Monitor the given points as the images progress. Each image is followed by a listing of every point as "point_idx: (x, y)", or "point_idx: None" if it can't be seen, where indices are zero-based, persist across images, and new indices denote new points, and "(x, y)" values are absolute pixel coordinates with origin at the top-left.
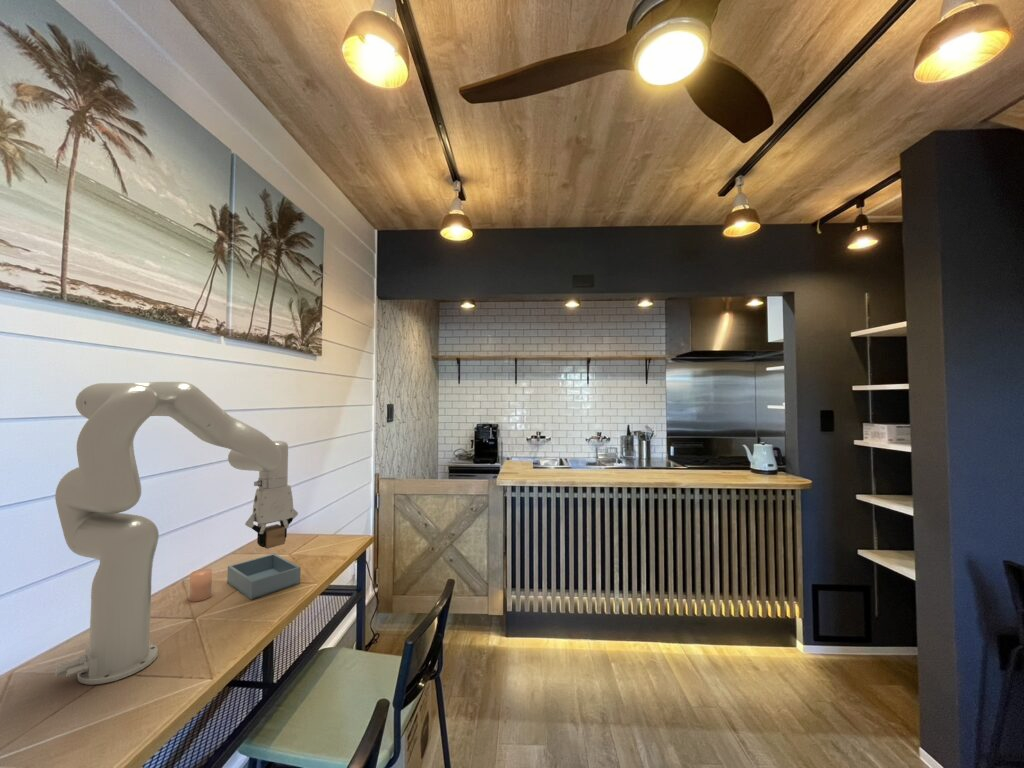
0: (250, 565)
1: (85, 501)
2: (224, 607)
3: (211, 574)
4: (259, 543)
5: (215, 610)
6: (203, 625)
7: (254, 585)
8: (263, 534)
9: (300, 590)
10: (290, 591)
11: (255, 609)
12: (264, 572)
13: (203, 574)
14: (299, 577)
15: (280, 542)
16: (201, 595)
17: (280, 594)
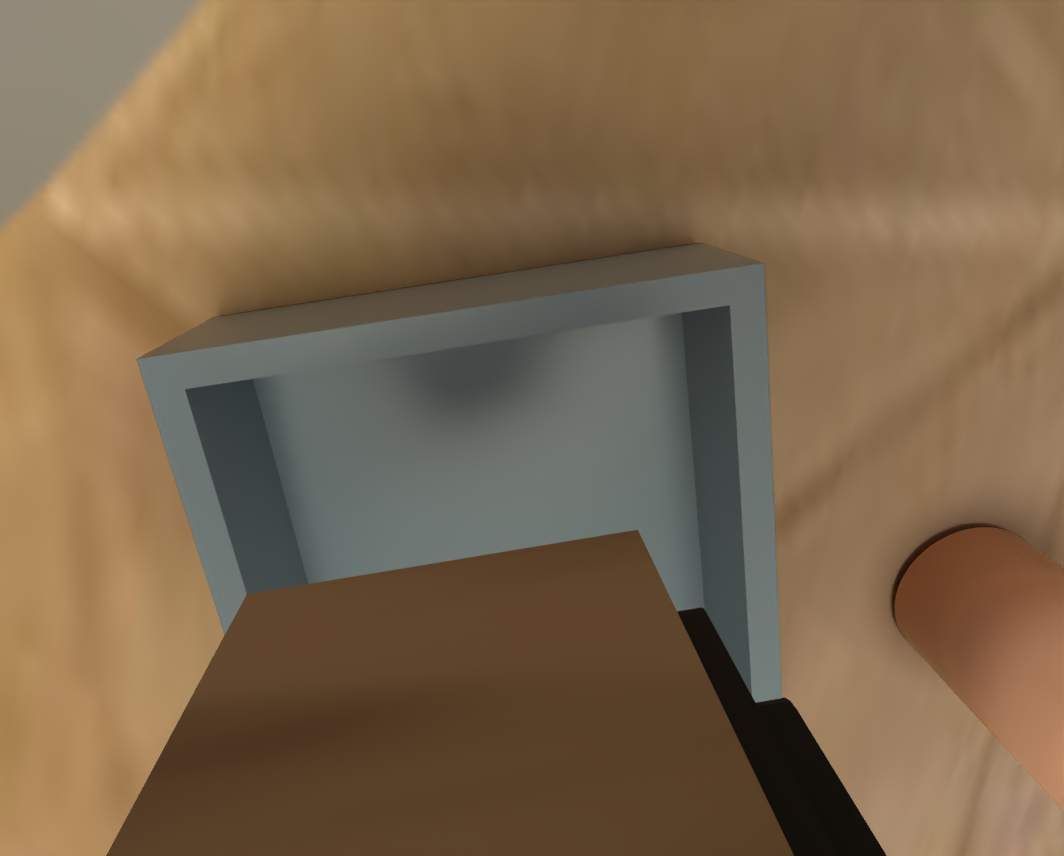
0: None
1: None
2: (904, 274)
3: (1033, 693)
4: (792, 705)
5: (975, 264)
6: None
7: (718, 261)
8: (834, 848)
9: (245, 153)
10: (340, 205)
11: (728, 6)
12: None
13: None
14: (198, 328)
15: (334, 609)
16: (1017, 548)
17: (441, 202)
